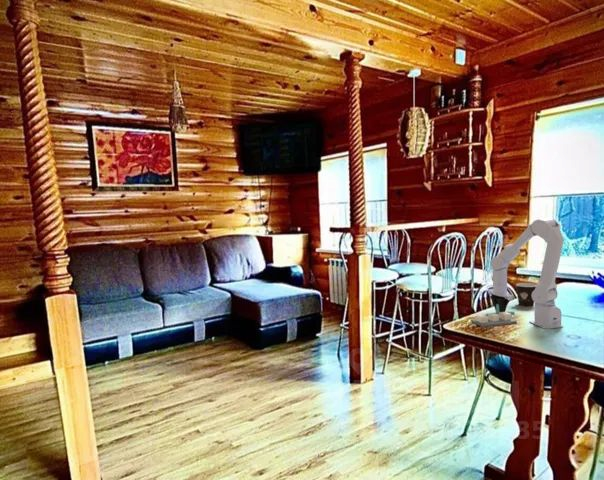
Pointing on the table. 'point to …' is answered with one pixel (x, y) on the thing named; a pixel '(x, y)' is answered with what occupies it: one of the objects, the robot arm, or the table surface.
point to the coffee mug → (525, 294)
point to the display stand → (493, 319)
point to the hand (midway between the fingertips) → (500, 312)
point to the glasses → (498, 311)
